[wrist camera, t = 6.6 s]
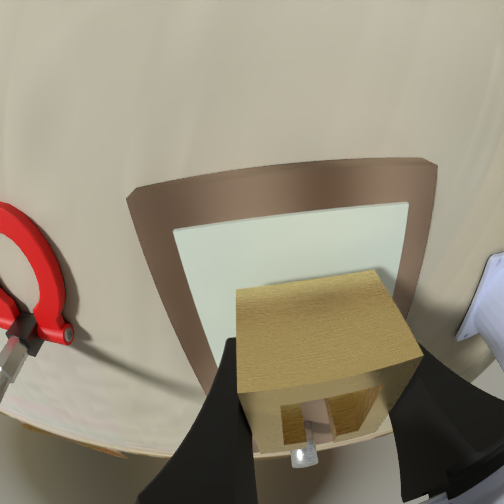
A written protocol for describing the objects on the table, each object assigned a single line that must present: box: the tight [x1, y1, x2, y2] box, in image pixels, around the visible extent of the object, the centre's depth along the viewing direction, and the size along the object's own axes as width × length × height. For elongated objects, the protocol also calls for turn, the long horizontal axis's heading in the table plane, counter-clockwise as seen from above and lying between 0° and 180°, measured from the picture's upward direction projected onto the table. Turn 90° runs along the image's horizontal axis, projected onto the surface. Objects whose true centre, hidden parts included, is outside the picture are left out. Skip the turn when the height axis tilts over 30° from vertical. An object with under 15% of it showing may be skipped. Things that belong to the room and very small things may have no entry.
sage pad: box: [173, 202, 409, 368], centre depth 12 cm, size 9×9×1 cm
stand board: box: [126, 158, 438, 453], centre depth 17 cm, size 12×27×1 cm, turn 7°
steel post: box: [290, 420, 318, 468], centre depth 18 cm, size 2×2×4 cm
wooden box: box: [236, 270, 424, 454], centre depth 9 cm, size 5×6×4 cm
